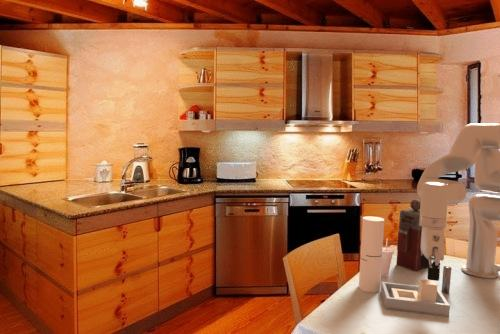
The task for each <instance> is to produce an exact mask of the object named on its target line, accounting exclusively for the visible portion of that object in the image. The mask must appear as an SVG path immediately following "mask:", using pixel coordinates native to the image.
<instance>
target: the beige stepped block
mask: <svg viewBox="0 0 500 334" xmlns="http://www.w3.org/2000/svg"><path fill="white" fill-rule="evenodd" d="M436 282H437V281H435V280H428V279H426V278H425V279H424V278H419V279H418V286H419V288H418V292H417V291H413V290H405V289H396V288H391V295H392V298H401V299H409V300H418V301H427V302H435V303H436V296H437V288H438V284H437V283H436ZM399 296H400V297H399ZM404 297H408V298H404Z"/></svg>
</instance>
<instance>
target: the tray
mask: <svg viewBox="0 0 500 334" xmlns="http://www.w3.org/2000/svg"><path fill="white" fill-rule="evenodd" d="M391 288H396V289H405V290H413V291H417V292H418V288H419V285H414V284H406V283H405V284H404V283H398V282H397V283H396V282H387V281H381V282H380V293H381V296H382V300H383V303H384V306H385V307H384V308H385V309H386V310H392V311H398V312H399V311H400V312H408V313H417V314H424V315H432V316H433V315H434V316H441V317H450V310H451V308H450V307H451V305H450V303H449V302H448V300H447V299H446V297H445V296H444V293H442V290H440V288H439V287H437V296H436V303H435V302H427V301H418V300H409V299H401V298H392V295H391ZM399 297H400V296H399ZM404 298H408V297H404Z"/></svg>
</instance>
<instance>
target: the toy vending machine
mask: <svg viewBox="0 0 500 334" xmlns="http://www.w3.org/2000/svg"><path fill="white" fill-rule="evenodd" d="M420 204H421V199H418V198H417V199H413V200H411V202H410V205H409V206H410V208H406V209H401V210H400V211H399V221H398V231H397V244H396V245H397V246H396V249H397V252H396V266H398V267H401V268H404V269H408V270H410V271H413V272H415V273H417V272H420V271H423V270H425V269H427V268H421V267H420V261H421V256H422V255H421V232H422V226H420V225H419V220H420Z"/></svg>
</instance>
